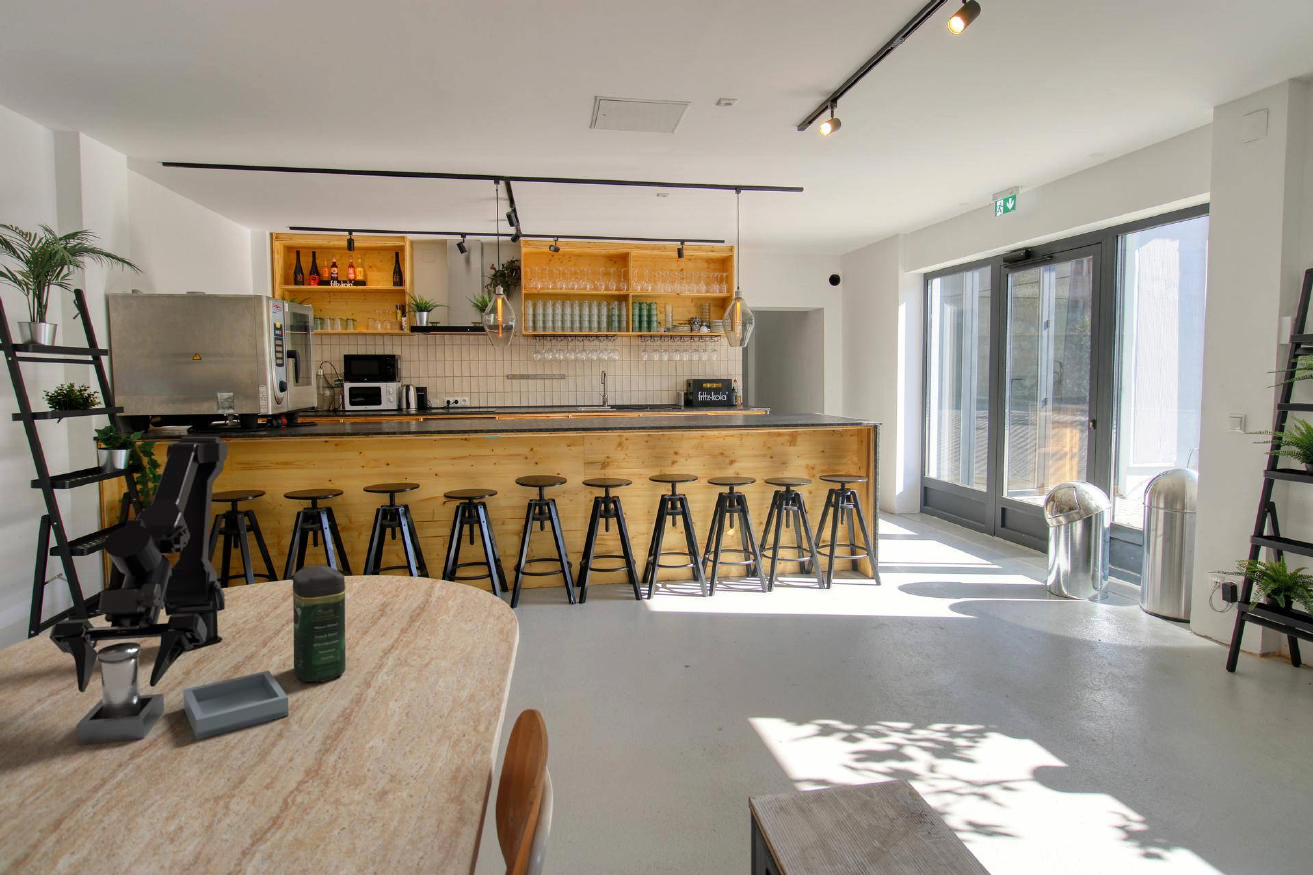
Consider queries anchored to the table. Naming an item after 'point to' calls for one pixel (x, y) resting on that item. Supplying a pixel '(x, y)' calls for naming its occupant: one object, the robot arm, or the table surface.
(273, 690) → the parts tray
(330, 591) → the coffee jar
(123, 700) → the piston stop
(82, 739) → the grey square tray
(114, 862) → the table surface
